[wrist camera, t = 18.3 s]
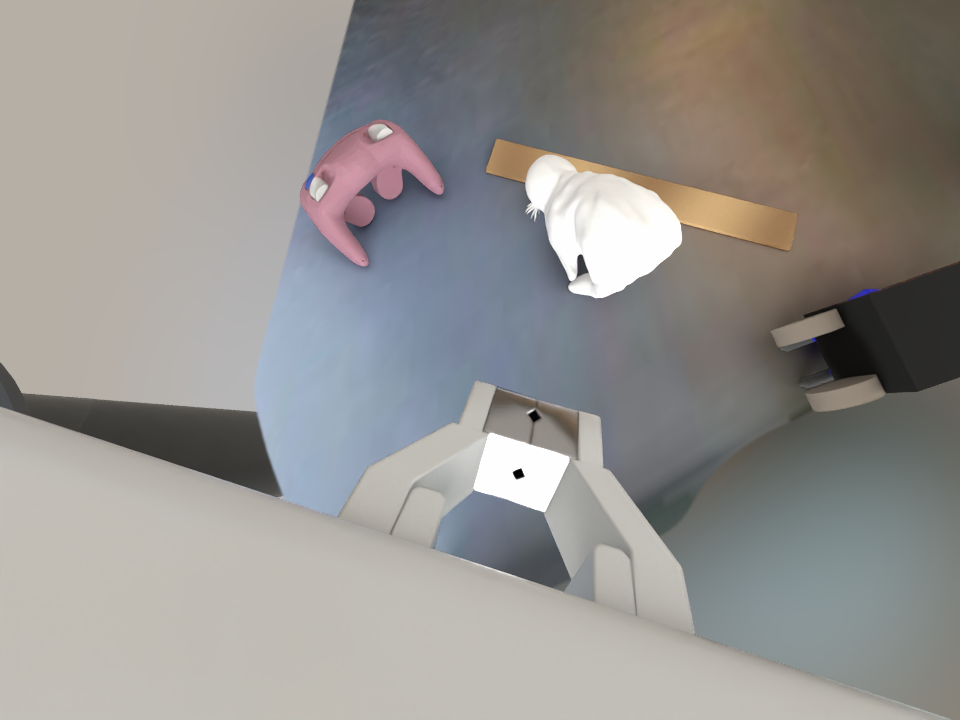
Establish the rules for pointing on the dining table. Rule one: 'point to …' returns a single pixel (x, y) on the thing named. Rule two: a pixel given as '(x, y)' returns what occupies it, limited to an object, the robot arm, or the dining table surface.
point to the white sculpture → (601, 224)
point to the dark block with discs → (882, 340)
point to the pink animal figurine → (362, 181)
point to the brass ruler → (670, 198)
